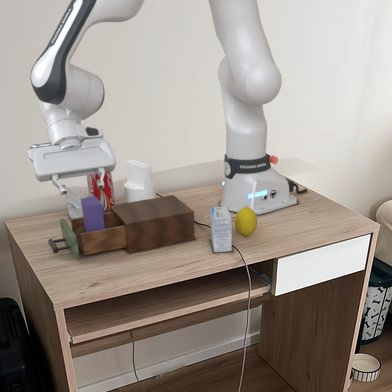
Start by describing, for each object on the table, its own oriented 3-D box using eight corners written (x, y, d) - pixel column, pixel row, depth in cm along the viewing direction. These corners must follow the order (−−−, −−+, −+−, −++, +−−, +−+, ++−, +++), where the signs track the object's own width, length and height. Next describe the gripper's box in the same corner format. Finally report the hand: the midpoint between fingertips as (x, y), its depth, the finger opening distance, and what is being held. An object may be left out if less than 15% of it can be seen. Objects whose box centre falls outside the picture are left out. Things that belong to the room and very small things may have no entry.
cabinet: (129, 253, 132) (126, 223, 128) (113, 233, 143) (109, 205, 138) (195, 240, 138) (194, 211, 134) (174, 222, 148) (173, 194, 144)
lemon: (255, 241, 136) (256, 211, 131) (233, 240, 137) (233, 210, 132) (257, 233, 141) (258, 203, 136) (235, 232, 141) (236, 202, 137)
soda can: (111, 213, 154) (105, 171, 148) (87, 212, 156) (81, 170, 149) (118, 205, 160) (114, 163, 153) (96, 204, 161) (90, 163, 155)
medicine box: (231, 251, 132) (232, 217, 127) (213, 253, 131) (213, 218, 126) (227, 239, 138) (228, 205, 133) (210, 239, 138) (210, 206, 133)
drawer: (57, 263, 127) (52, 240, 123) (46, 243, 136) (42, 221, 133) (140, 246, 133) (138, 224, 130) (125, 229, 143) (123, 207, 139)
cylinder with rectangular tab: (162, 204, 159) (160, 163, 153) (137, 212, 155) (133, 170, 148) (144, 197, 165) (141, 157, 158) (120, 204, 160) (115, 163, 154)
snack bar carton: (100, 234, 137) (95, 196, 131) (106, 243, 133) (101, 203, 127) (86, 237, 136) (80, 198, 130) (92, 246, 131) (86, 206, 126)
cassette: (89, 227, 147) (85, 199, 142) (83, 228, 146) (79, 200, 142) (73, 213, 155) (68, 187, 151) (67, 215, 154) (62, 188, 150)
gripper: (25, 138, 129) (40, 190, 128) (108, 128, 136) (123, 178, 134) (25, 153, 135) (40, 203, 133) (105, 142, 142) (120, 190, 140)
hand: (82, 190), depth 134 cm, fingers open, 8 cm apart
